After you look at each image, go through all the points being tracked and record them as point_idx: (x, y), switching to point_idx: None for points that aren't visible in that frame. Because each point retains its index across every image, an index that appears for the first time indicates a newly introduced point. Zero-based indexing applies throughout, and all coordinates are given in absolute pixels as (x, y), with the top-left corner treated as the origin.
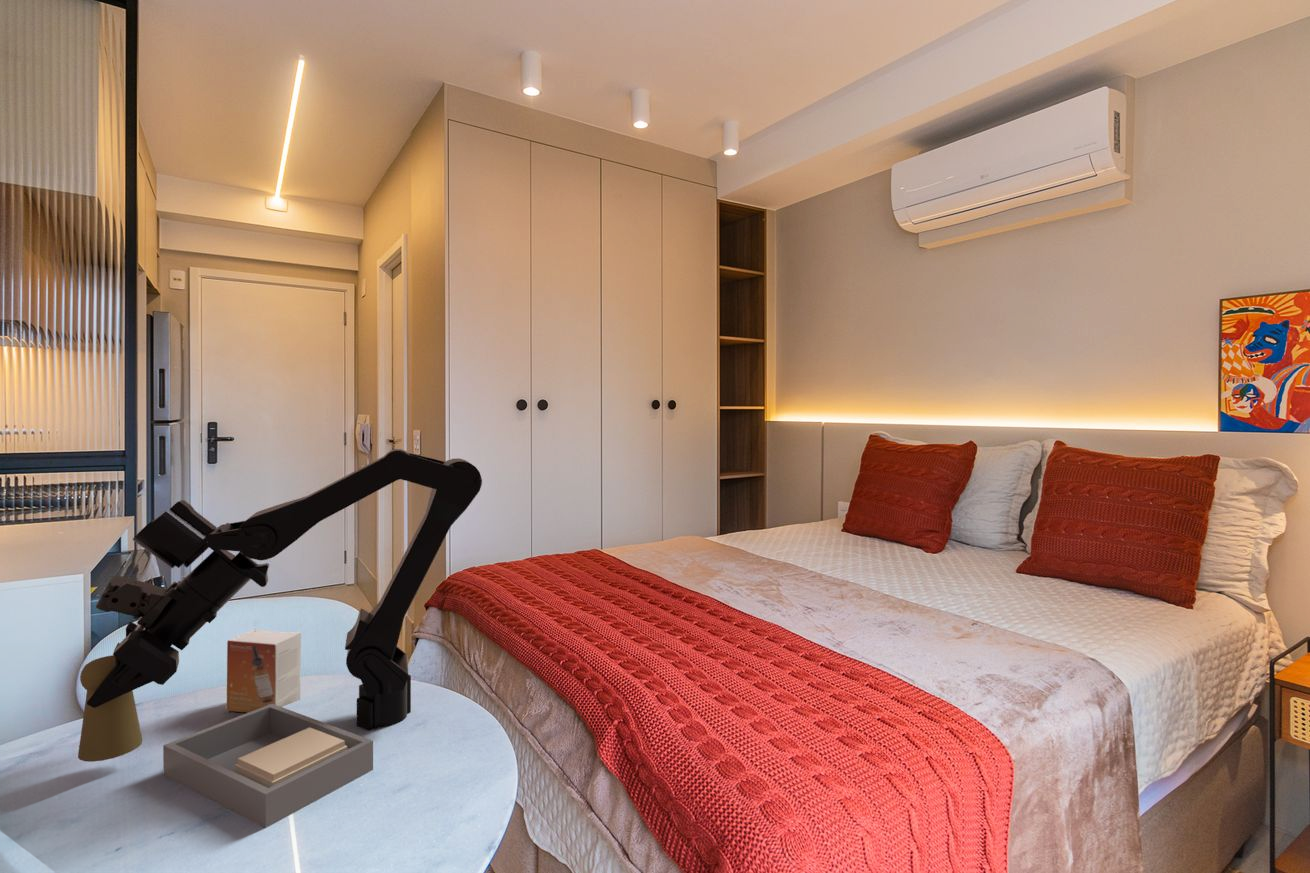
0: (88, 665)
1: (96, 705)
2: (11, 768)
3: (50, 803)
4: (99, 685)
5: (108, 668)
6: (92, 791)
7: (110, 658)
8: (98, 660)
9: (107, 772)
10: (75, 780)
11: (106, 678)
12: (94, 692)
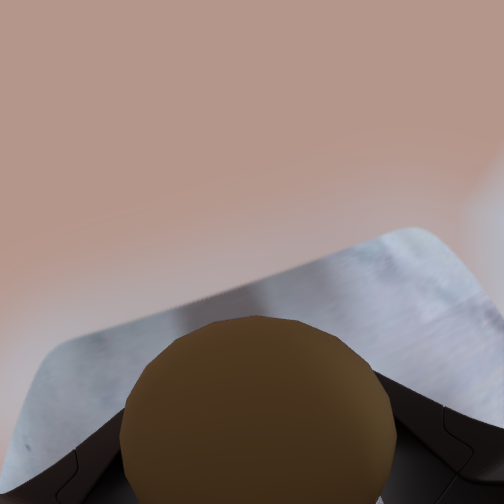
0: (197, 352)
1: None
2: (341, 251)
3: None
4: (110, 427)
5: (126, 470)
6: None
7: (238, 475)
8: (227, 402)
9: None
10: None
11: (69, 456)
12: (123, 410)
